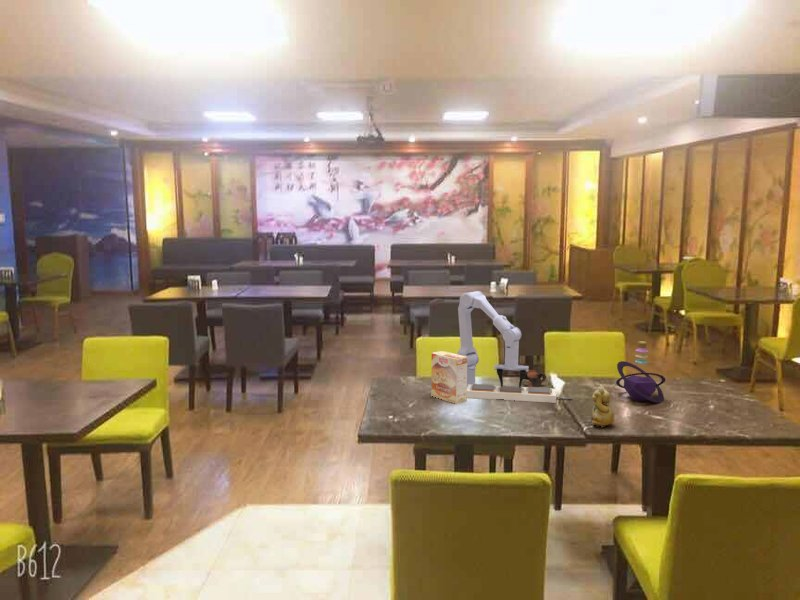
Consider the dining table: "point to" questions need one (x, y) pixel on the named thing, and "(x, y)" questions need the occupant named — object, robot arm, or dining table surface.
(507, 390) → the middle button
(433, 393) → the coffeecake box
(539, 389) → the right button
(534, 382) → the brown grey irregular piece
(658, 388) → the decorative bottle
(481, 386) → the left button
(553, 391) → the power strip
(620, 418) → the dining table surface
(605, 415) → the decorative figurine
